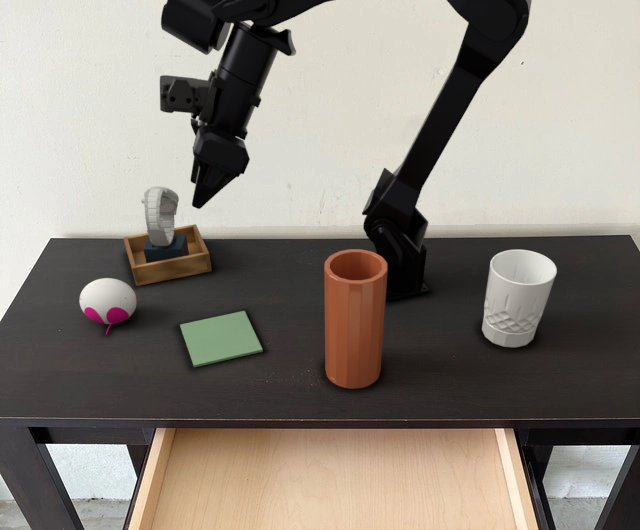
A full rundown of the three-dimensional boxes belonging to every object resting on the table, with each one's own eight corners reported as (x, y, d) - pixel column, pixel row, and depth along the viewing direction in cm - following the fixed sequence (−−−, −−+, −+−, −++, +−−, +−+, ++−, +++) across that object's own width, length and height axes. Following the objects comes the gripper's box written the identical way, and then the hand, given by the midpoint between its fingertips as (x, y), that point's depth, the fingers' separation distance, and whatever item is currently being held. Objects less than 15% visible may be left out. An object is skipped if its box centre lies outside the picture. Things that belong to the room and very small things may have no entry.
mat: (244, 312, 91) (244, 310, 90) (262, 351, 85) (262, 349, 85) (180, 326, 89) (179, 324, 88) (194, 367, 83) (193, 365, 83)
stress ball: (90, 345, 91) (68, 330, 85) (94, 290, 93) (73, 271, 86) (143, 344, 91) (125, 329, 84) (146, 289, 92) (129, 270, 86)
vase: (367, 348, 85) (372, 244, 74) (388, 381, 81) (397, 275, 70) (318, 360, 83) (316, 255, 73) (336, 394, 79) (337, 288, 68)
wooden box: (198, 241, 104) (195, 223, 102) (211, 271, 98) (209, 253, 96) (127, 254, 102) (123, 237, 100) (136, 286, 96) (132, 268, 94)
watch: (191, 245, 102) (179, 177, 95) (182, 274, 97) (169, 204, 89) (155, 246, 103) (140, 177, 95) (144, 274, 97) (128, 204, 89)
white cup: (499, 307, 91) (514, 242, 84) (550, 332, 87) (569, 266, 80) (465, 332, 87) (477, 266, 80) (516, 359, 83) (533, 292, 76)
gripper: (176, 29, 83) (137, 147, 91) (176, 57, 69) (130, 194, 76) (257, 72, 87) (213, 180, 95) (273, 106, 73) (220, 231, 81)
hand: (194, 194), depth 87 cm, fingers open, 9 cm apart
